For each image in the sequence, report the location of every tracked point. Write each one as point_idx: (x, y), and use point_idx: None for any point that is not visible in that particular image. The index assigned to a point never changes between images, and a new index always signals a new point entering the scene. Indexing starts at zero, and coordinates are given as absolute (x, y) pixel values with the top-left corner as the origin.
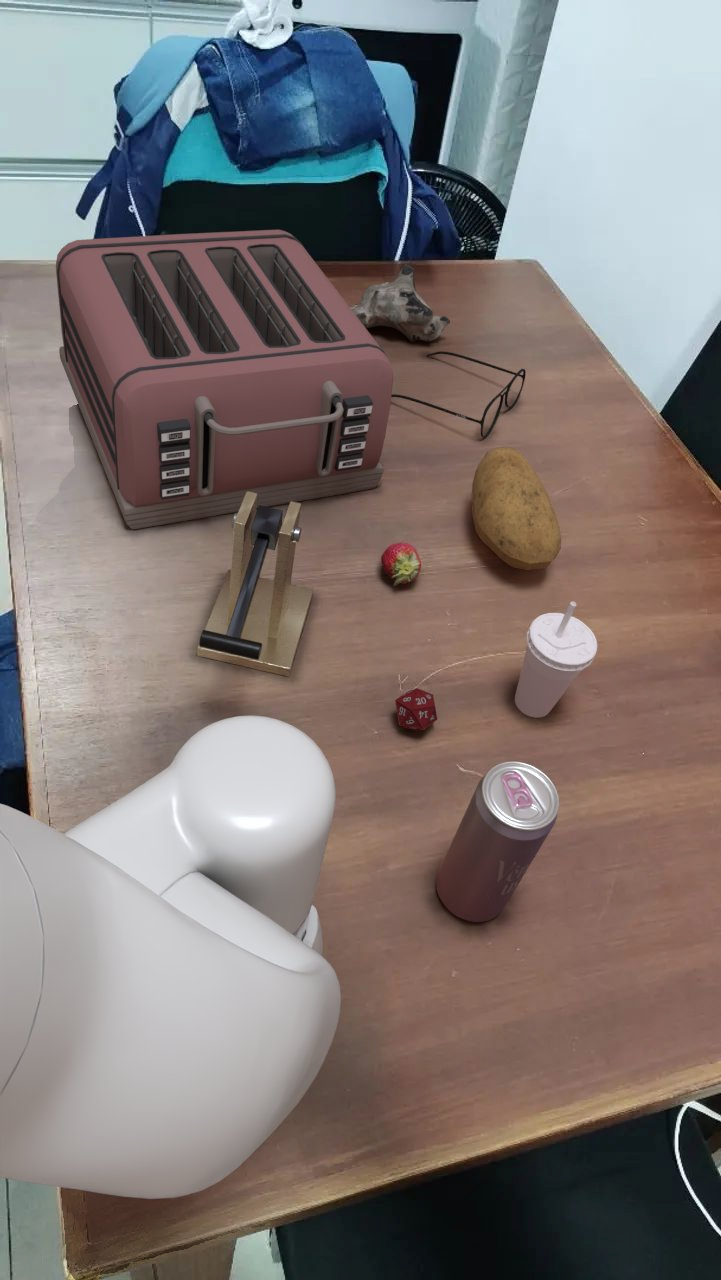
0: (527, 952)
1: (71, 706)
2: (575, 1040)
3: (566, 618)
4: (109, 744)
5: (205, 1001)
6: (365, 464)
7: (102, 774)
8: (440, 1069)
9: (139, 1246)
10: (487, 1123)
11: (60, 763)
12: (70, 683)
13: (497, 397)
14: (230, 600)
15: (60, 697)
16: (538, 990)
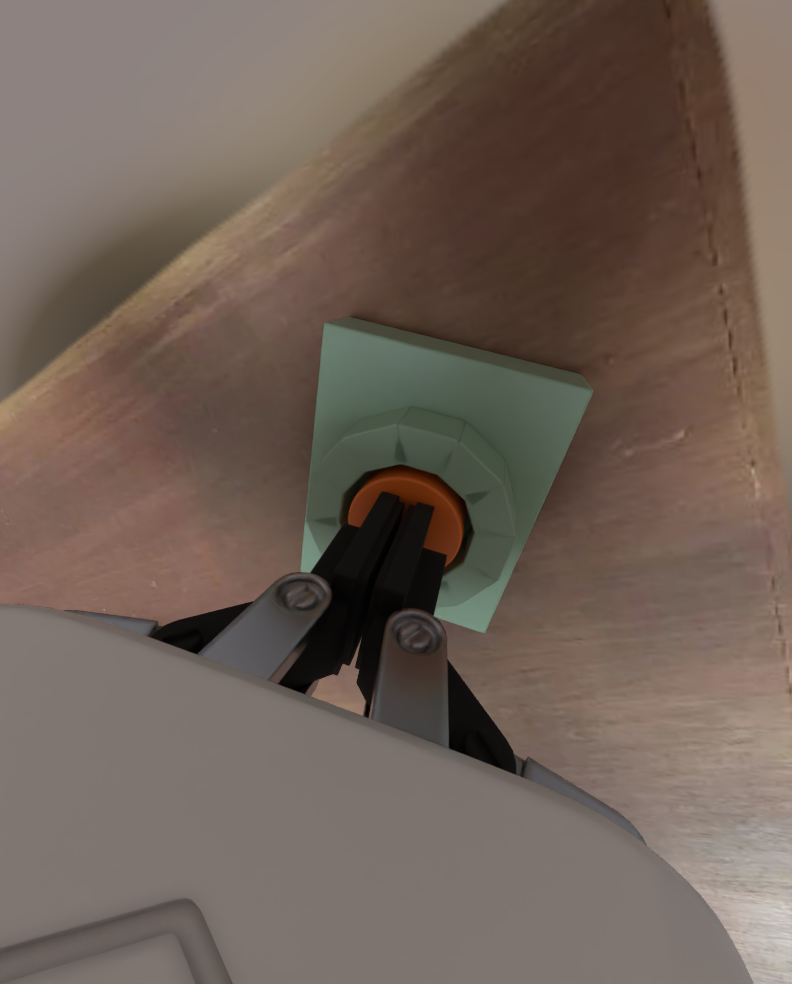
0: (94, 606)
1: (768, 903)
2: (5, 520)
3: None
4: (696, 855)
5: None
6: None
7: (705, 825)
8: (117, 473)
9: (512, 7)
10: (36, 412)
11: (786, 848)
12: (771, 925)
13: None
14: None
15: (789, 915)
16: (64, 569)
